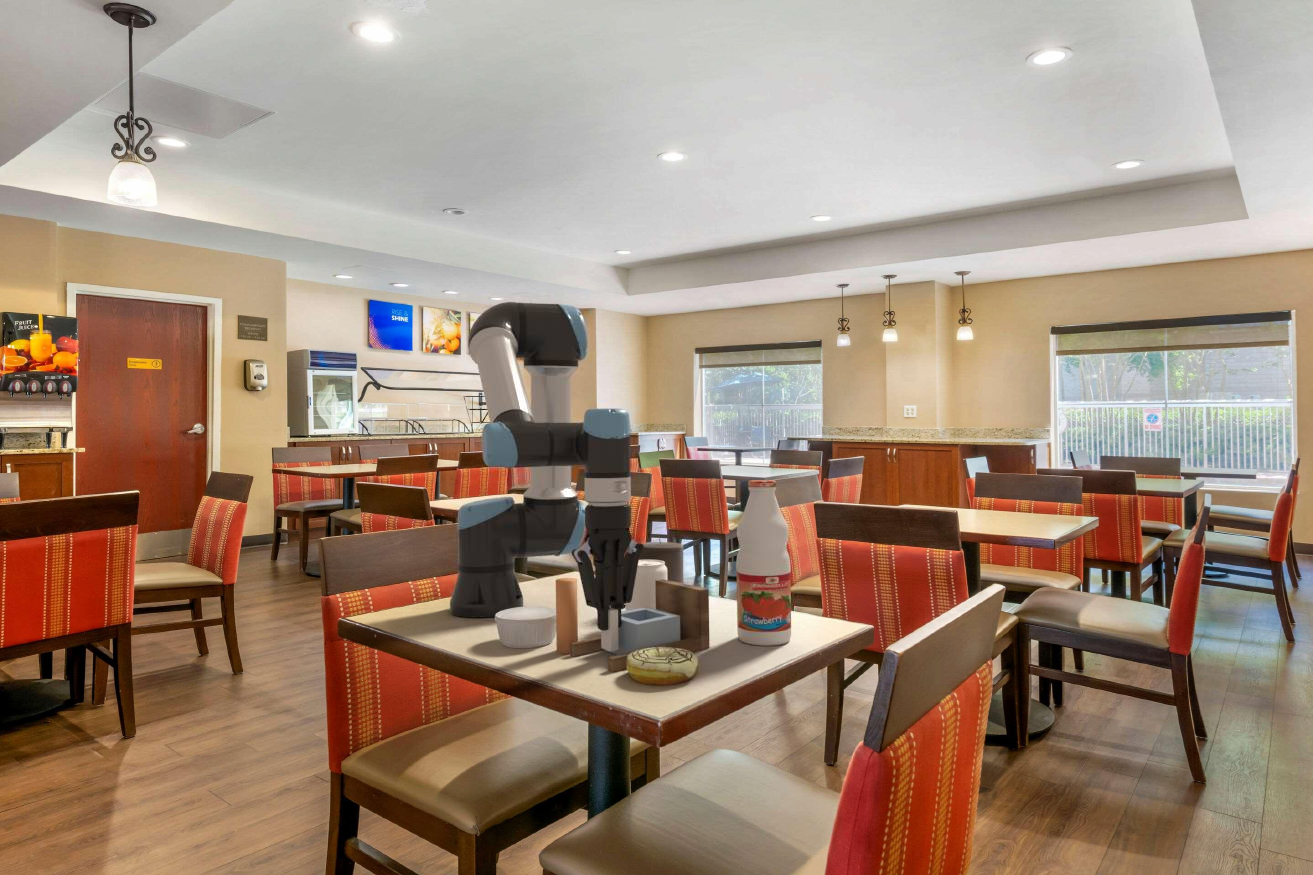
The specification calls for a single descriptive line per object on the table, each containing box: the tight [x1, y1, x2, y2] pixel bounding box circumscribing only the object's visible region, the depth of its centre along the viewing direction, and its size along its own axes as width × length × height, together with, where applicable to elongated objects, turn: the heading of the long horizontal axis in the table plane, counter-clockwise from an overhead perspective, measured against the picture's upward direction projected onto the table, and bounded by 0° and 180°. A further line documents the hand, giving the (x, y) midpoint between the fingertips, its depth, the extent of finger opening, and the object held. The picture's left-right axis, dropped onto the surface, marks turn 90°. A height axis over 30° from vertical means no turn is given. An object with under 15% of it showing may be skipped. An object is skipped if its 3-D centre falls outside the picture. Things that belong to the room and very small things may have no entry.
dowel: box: [555, 577, 579, 655], centre depth 128 cm, size 4×4×12 cm
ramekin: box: [494, 605, 556, 649], centre depth 134 cm, size 11×11×5 cm
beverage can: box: [624, 560, 667, 611], centre depth 145 cm, size 8×8×12 cm
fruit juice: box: [735, 479, 792, 647], centre depth 133 cm, size 9×9×28 cm
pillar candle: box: [639, 537, 684, 584], centre depth 157 cm, size 10×10×15 cm
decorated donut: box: [626, 647, 699, 686], centre depth 114 cm, size 10×11×4 cm
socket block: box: [604, 607, 680, 656], centre depth 127 cm, size 9×9×6 cm
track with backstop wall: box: [569, 579, 711, 673], centre depth 127 cm, size 12×20×10 cm, turn 129°
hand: (609, 648), depth 123 cm, fingers closed
